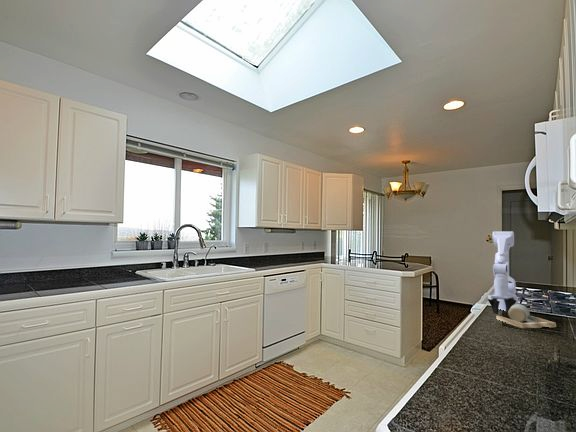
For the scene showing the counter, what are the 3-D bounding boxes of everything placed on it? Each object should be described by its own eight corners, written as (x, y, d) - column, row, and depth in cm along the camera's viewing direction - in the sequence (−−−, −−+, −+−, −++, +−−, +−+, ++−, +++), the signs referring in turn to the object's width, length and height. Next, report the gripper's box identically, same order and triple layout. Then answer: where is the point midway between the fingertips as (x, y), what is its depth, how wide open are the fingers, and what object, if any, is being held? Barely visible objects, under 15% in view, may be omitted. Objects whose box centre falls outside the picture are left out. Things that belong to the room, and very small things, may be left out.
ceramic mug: (507, 321, 145) (507, 305, 145) (510, 317, 151) (510, 302, 151) (535, 326, 137) (535, 309, 138) (537, 322, 143) (537, 306, 144)
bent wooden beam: (527, 318, 150) (527, 314, 150) (556, 327, 136) (555, 322, 136) (496, 319, 147) (496, 315, 147) (522, 328, 133) (522, 323, 133)
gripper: (495, 288, 150) (496, 315, 149) (520, 287, 152) (521, 315, 151) (484, 285, 157) (485, 312, 156) (508, 285, 159) (509, 311, 158)
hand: (502, 313), depth 154 cm, fingers open, 7 cm apart
